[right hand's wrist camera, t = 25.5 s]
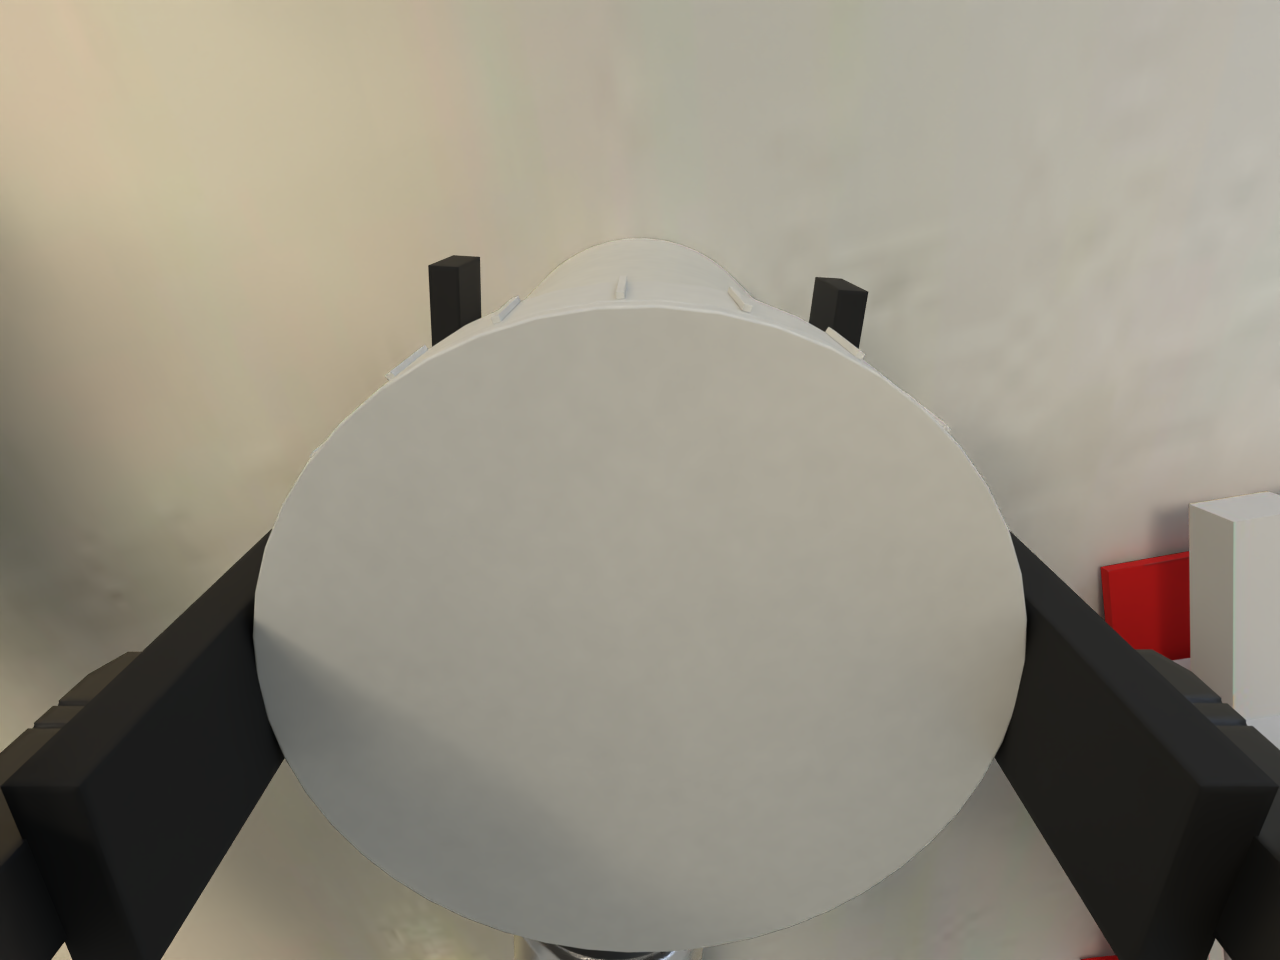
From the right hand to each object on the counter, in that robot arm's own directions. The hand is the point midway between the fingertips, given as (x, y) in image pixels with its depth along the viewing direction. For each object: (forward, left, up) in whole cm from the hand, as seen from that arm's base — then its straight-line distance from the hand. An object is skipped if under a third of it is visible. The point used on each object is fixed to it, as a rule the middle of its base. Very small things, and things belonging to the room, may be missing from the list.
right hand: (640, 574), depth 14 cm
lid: (0, 0, +3) cm, 3 cm away
